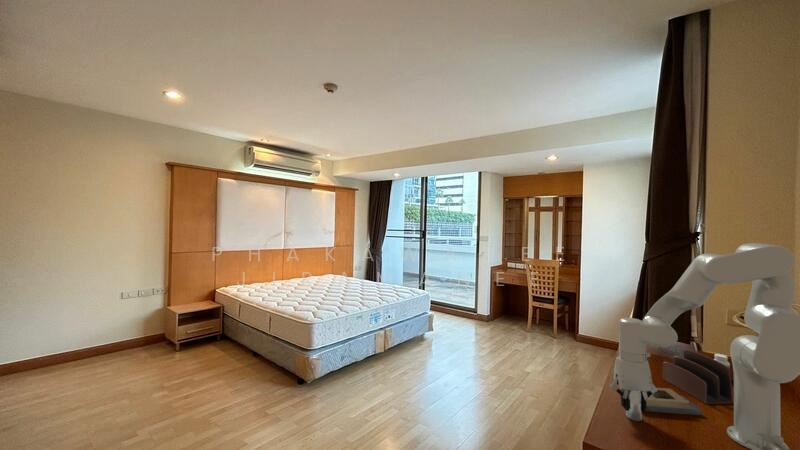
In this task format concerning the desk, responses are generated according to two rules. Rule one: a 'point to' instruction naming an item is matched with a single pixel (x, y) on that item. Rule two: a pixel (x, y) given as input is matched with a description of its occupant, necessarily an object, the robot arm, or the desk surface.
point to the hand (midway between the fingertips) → (633, 408)
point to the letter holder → (700, 377)
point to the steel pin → (634, 405)
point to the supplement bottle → (722, 359)
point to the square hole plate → (671, 403)
